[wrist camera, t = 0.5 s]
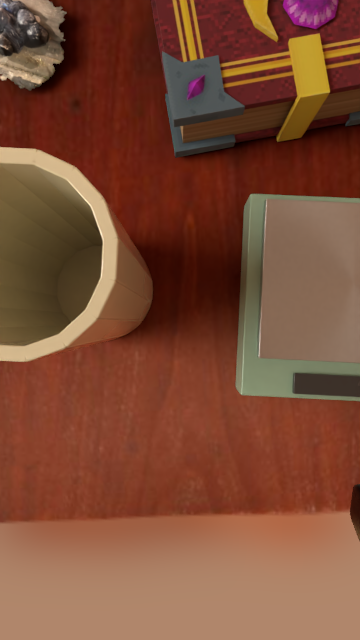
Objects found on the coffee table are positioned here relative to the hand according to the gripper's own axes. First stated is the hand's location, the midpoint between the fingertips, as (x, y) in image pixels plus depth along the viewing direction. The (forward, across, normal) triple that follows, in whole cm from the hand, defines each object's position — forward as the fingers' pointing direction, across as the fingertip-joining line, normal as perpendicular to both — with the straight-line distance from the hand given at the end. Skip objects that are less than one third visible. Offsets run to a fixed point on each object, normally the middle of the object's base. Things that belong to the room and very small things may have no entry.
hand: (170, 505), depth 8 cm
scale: (+15, -10, -1) cm, 18 cm away
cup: (+15, +5, -2) cm, 16 cm away
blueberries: (+21, +10, -18) cm, 29 cm away
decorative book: (+20, -8, -16) cm, 27 cm away
